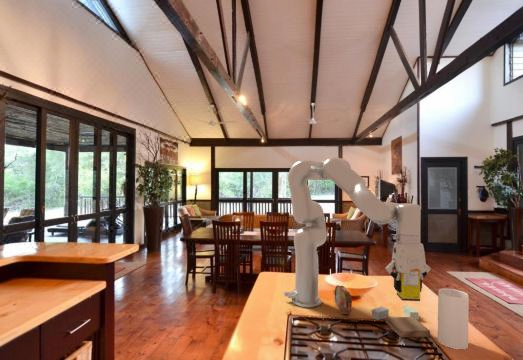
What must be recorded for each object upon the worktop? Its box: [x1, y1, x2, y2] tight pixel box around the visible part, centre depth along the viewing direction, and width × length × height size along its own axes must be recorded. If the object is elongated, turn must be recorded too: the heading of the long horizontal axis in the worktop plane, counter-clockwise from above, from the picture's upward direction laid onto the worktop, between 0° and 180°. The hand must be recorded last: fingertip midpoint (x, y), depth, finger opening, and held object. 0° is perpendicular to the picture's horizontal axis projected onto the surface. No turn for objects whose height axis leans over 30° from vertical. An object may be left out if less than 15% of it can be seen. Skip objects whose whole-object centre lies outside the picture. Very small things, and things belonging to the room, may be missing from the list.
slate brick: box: [371, 306, 390, 321], centre depth 115 cm, size 6×3×3 cm, turn 122°
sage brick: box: [402, 305, 419, 321], centre depth 116 cm, size 6×3×3 cm, turn 179°
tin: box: [334, 285, 353, 315], centre depth 121 cm, size 15×3×8 cm, turn 2°
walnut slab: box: [385, 316, 431, 338], centre depth 105 cm, size 10×10×2 cm
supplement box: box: [396, 269, 421, 302], centre depth 105 cm, size 6×6×11 cm
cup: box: [437, 287, 470, 350], centre depth 97 cm, size 8×8×16 cm
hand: (407, 290), depth 105 cm, fingers closed on supplement box, 6 cm apart
